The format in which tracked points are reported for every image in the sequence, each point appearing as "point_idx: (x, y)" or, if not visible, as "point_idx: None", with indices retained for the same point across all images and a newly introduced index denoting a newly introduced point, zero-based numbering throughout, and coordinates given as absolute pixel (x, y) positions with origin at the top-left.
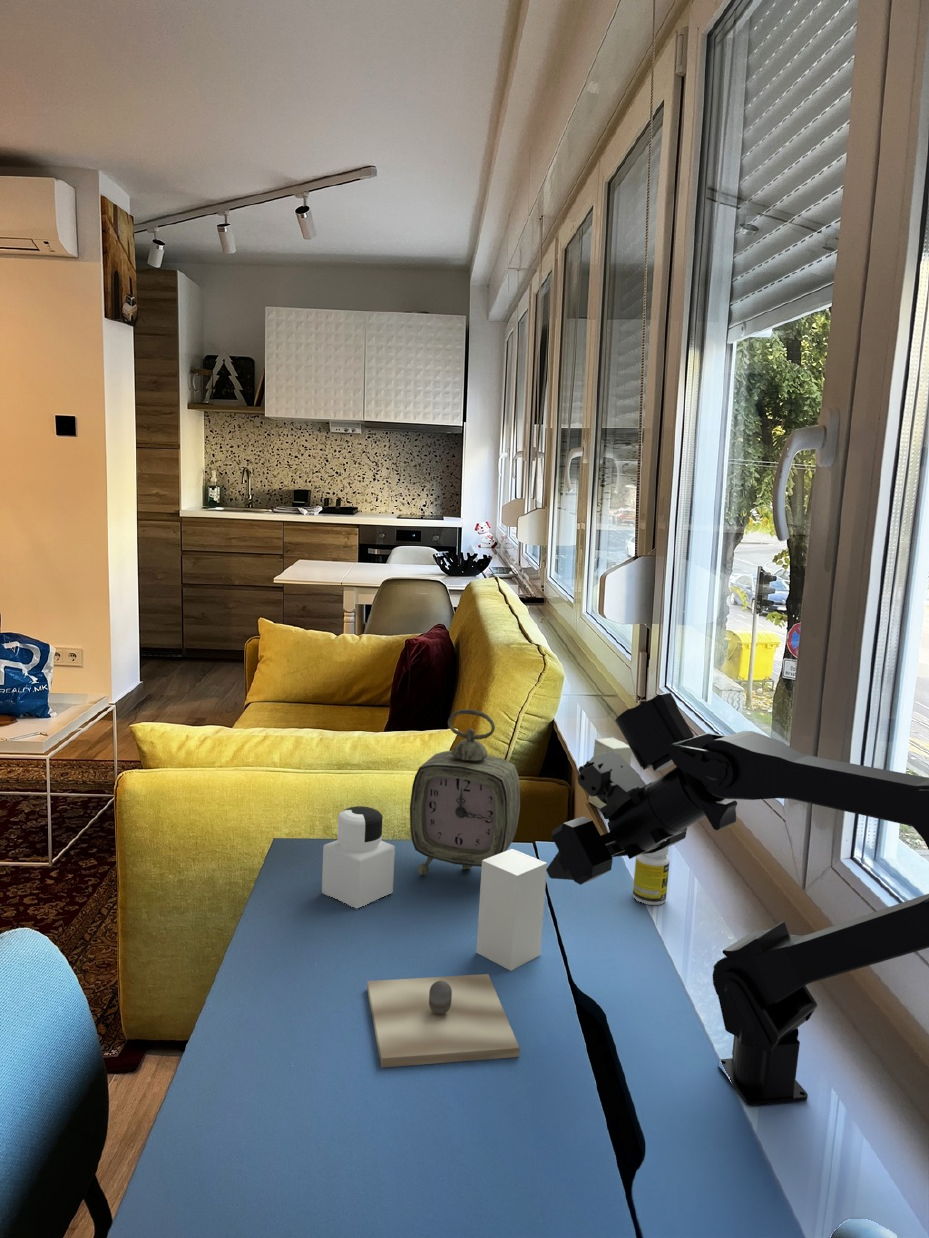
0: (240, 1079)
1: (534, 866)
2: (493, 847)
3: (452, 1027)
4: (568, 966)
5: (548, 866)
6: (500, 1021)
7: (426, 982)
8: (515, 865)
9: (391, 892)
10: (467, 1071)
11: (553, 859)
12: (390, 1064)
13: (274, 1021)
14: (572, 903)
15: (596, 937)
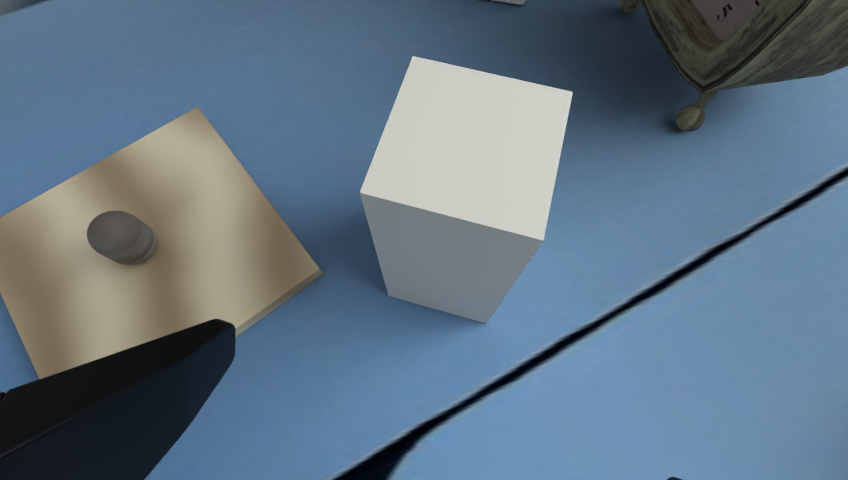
0: None
1: (477, 212)
2: (725, 50)
3: (102, 293)
4: (479, 400)
5: (181, 331)
6: None
7: (234, 185)
8: (441, 154)
9: (519, 2)
10: (13, 372)
11: (72, 369)
12: None
13: (71, 60)
14: (763, 294)
15: (652, 411)
